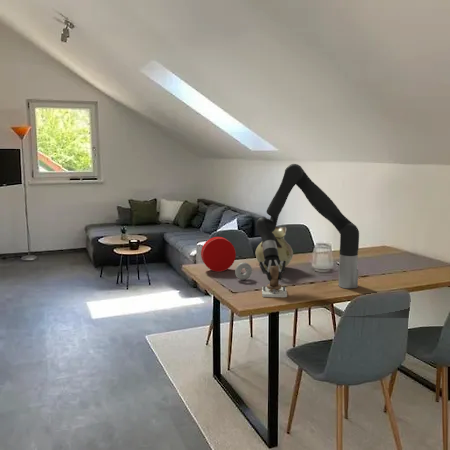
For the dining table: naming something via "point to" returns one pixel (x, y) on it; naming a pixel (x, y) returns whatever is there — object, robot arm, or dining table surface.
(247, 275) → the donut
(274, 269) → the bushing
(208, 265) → the red round disc
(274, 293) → the locating plate
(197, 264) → the dining table surface
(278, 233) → the tied beige sack
